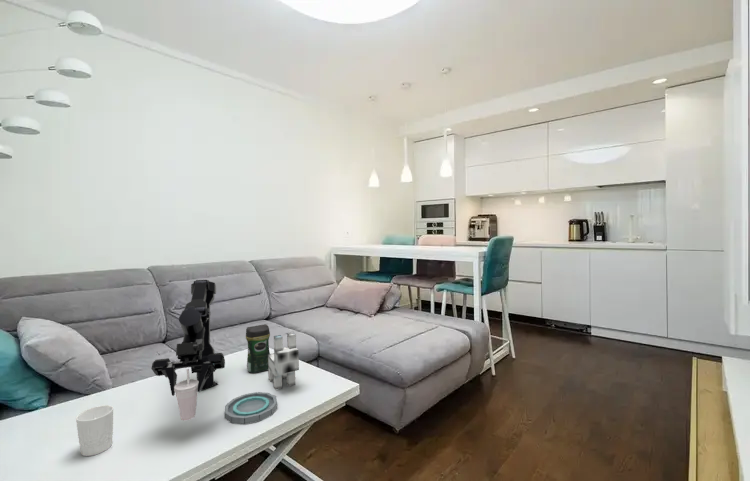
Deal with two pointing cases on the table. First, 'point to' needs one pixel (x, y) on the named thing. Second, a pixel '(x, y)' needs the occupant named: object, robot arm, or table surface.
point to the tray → (250, 408)
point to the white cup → (95, 430)
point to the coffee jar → (257, 348)
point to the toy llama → (283, 361)
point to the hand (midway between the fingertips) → (185, 393)
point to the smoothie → (187, 397)
